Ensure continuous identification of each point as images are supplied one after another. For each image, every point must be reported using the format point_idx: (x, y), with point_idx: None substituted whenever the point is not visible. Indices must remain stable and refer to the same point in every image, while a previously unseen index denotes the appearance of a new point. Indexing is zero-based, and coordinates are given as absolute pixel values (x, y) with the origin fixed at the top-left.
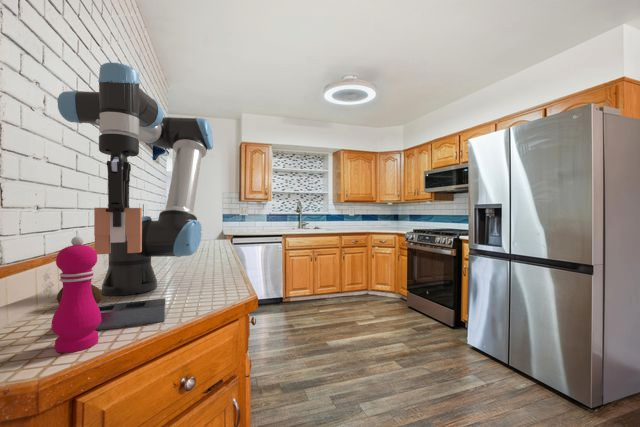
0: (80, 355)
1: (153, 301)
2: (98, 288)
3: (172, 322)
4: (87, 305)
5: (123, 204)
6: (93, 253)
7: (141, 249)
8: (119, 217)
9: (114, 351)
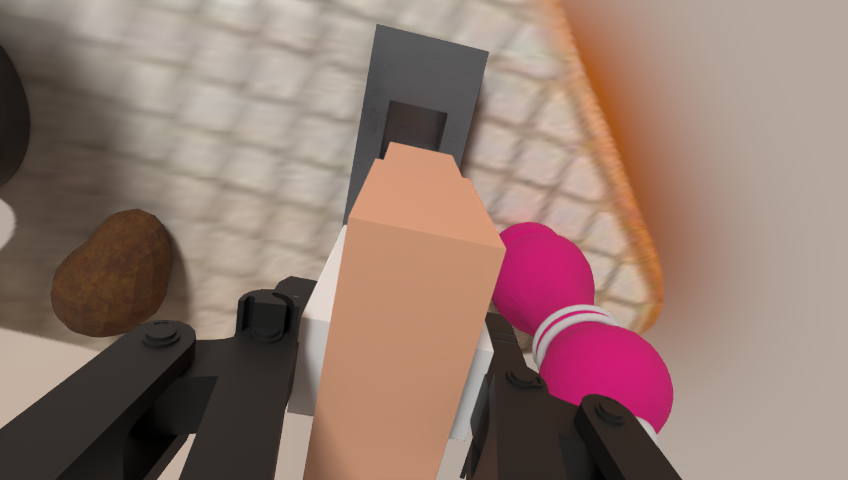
0: (590, 251)
1: (399, 74)
2: (103, 232)
3: (505, 32)
4: (588, 282)
5: (549, 414)
6: (653, 356)
7: (399, 145)
8: (519, 361)
9: (620, 194)
